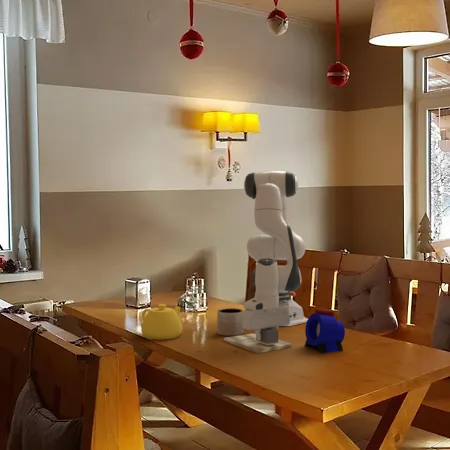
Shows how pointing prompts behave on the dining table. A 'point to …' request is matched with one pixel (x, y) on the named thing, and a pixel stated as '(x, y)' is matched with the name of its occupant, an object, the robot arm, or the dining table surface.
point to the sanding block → (268, 336)
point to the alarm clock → (324, 331)
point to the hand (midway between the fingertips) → (266, 338)
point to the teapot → (161, 323)
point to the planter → (229, 322)
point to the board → (255, 343)
